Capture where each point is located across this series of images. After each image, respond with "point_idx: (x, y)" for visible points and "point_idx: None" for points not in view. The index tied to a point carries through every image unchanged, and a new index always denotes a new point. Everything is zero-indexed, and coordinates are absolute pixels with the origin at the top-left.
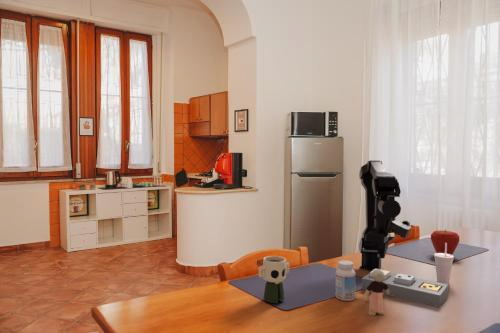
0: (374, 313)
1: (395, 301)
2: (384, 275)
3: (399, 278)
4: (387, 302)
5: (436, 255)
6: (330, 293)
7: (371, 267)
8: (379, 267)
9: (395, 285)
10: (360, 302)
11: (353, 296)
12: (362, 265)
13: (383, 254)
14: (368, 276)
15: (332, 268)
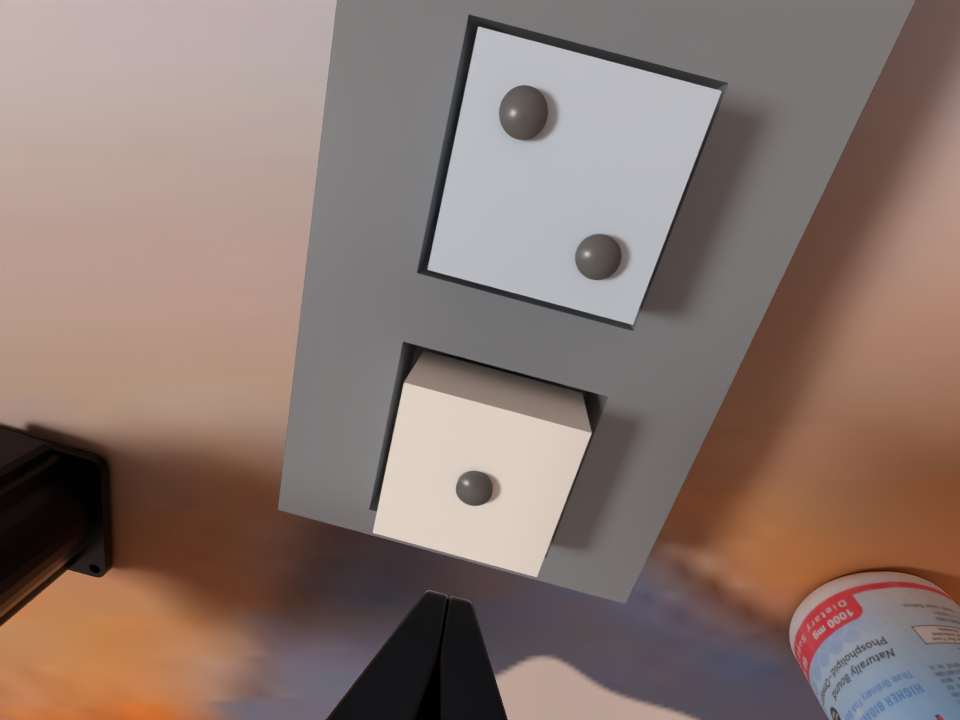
0: None
1: (868, 256)
2: (589, 436)
3: (656, 255)
4: (911, 325)
5: None
6: (790, 702)
7: (76, 502)
8: (25, 441)
9: (770, 288)
10: (950, 524)
11: (945, 598)
12: (65, 564)
13: (486, 683)
14: None
15: (240, 717)
